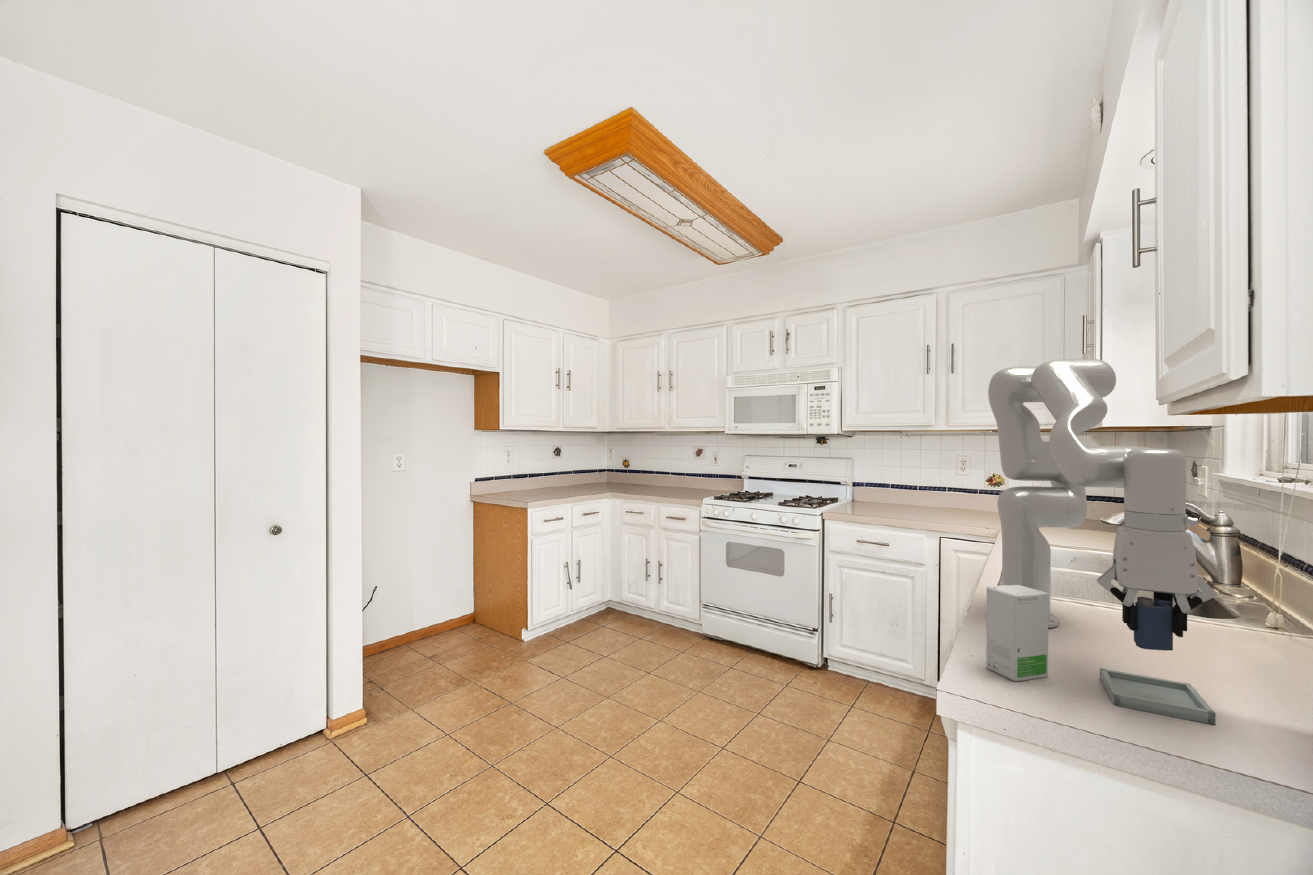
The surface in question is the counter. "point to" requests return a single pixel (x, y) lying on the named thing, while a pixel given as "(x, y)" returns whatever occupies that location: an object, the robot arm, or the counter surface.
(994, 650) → the skincare box
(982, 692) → the counter surface
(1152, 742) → the counter surface
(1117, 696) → the tray
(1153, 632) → the vaping device
